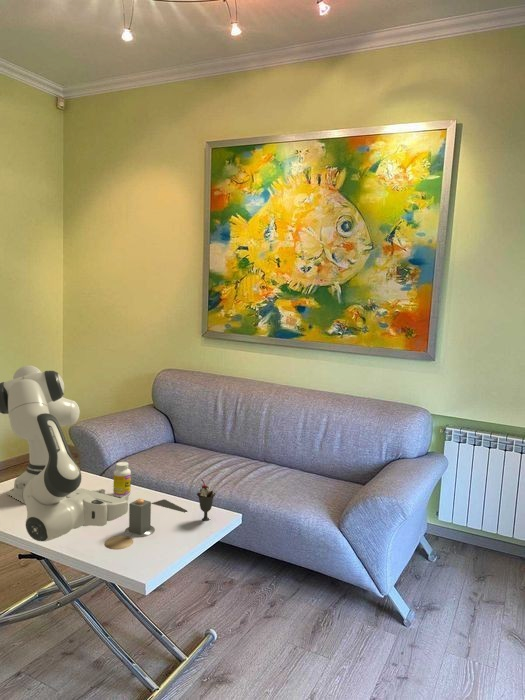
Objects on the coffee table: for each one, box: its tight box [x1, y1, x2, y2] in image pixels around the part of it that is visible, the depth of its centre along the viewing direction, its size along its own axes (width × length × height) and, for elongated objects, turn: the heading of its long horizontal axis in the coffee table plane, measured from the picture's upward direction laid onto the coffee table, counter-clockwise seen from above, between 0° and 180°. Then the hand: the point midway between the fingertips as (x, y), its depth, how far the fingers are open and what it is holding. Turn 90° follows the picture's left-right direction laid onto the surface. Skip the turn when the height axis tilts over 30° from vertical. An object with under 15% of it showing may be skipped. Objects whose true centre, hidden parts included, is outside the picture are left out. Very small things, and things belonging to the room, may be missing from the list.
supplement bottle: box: [112, 461, 132, 498], centre depth 204 cm, size 7×7×13 cm
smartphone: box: [151, 499, 188, 514], centre depth 193 cm, size 7×1×15 cm
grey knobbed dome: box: [124, 525, 156, 538], centre depth 172 cm, size 10×10×5 cm
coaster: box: [104, 535, 134, 550], centre depth 164 cm, size 9×9×1 cm
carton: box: [128, 498, 152, 535], centre depth 172 cm, size 5×5×11 cm
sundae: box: [196, 479, 216, 522], centre depth 182 cm, size 7×7×15 cm
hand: (114, 494), depth 160 cm, fingers open, 8 cm apart
